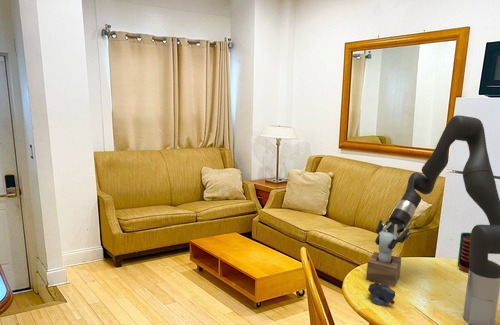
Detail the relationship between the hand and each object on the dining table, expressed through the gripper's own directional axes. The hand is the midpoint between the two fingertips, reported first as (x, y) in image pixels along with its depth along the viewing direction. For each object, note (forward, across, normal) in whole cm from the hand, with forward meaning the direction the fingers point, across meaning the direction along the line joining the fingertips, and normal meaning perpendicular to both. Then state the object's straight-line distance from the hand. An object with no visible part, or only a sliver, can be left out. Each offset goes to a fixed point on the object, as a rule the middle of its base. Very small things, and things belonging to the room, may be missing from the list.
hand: (383, 246), depth 155 cm
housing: (+9, 0, +12) cm, 14 cm away
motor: (-19, +16, +40) cm, 47 cm away
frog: (+21, +11, 0) cm, 23 cm away
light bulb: (+5, 0, +8) cm, 9 cm away
